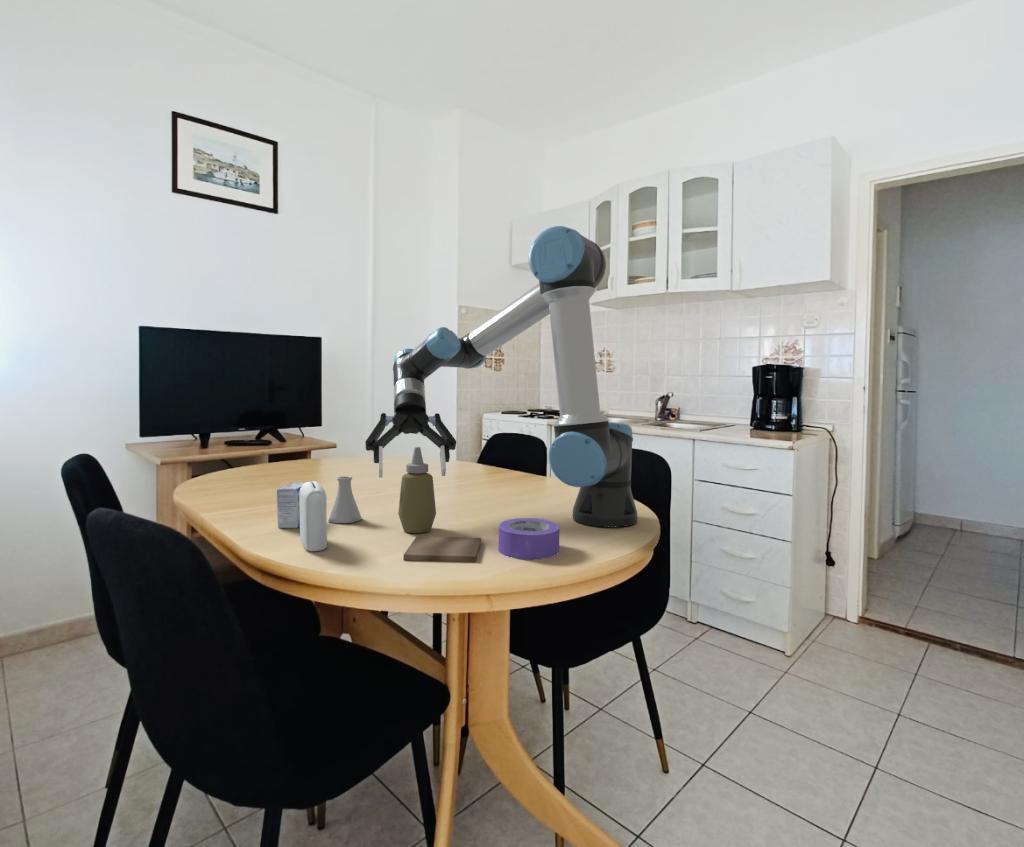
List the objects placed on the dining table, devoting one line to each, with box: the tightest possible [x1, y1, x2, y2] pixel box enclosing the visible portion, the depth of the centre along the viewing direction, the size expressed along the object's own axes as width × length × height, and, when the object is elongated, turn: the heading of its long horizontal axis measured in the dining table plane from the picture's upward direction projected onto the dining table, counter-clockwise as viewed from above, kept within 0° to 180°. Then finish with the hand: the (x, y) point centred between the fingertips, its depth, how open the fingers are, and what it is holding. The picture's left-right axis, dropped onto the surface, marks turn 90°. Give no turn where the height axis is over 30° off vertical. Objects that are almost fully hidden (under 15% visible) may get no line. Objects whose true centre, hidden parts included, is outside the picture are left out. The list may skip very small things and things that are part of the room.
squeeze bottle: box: [397, 446, 437, 534], centre depth 120 cm, size 8×8×18 cm
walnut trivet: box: [403, 535, 482, 563], centre depth 106 cm, size 13×12×1 cm
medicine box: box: [276, 482, 305, 529], centre depth 124 cm, size 8×4×9 cm, turn 179°
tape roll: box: [497, 517, 561, 561], centre depth 108 cm, size 12×12×5 cm
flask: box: [327, 475, 362, 524], centre depth 128 cm, size 7×7×10 cm
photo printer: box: [299, 480, 328, 552], centre depth 109 cm, size 10×4×12 cm, turn 27°
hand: (412, 473), depth 122 cm, fingers open, 13 cm apart
